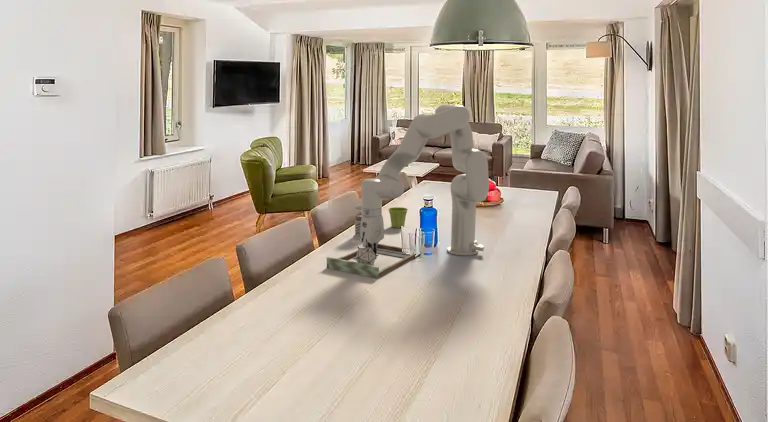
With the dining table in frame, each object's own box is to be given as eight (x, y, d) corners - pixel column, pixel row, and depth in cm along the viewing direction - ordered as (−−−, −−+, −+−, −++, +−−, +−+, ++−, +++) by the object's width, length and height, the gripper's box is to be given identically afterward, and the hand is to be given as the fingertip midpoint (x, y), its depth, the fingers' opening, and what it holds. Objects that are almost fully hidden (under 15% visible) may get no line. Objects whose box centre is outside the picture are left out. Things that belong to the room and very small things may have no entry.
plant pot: (386, 224, 261) (386, 207, 259) (404, 223, 263) (404, 206, 261) (390, 229, 252) (390, 211, 250) (409, 228, 254) (410, 210, 252)
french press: (360, 232, 246) (360, 179, 240) (382, 236, 240) (382, 181, 235) (348, 237, 237) (347, 182, 232) (370, 241, 232) (370, 184, 226)
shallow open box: (421, 254, 213) (421, 244, 212) (377, 278, 185) (377, 267, 185) (374, 246, 224) (374, 237, 223) (326, 267, 197) (326, 257, 196)
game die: (369, 278, 196) (374, 262, 189) (348, 269, 197) (352, 253, 190) (377, 261, 202) (383, 245, 195) (357, 252, 203) (361, 236, 196)
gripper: (369, 217, 190) (369, 266, 194) (390, 209, 202) (390, 255, 206) (351, 214, 194) (352, 262, 198) (374, 207, 206) (374, 252, 210)
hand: (371, 258), depth 202 cm, fingers closed
